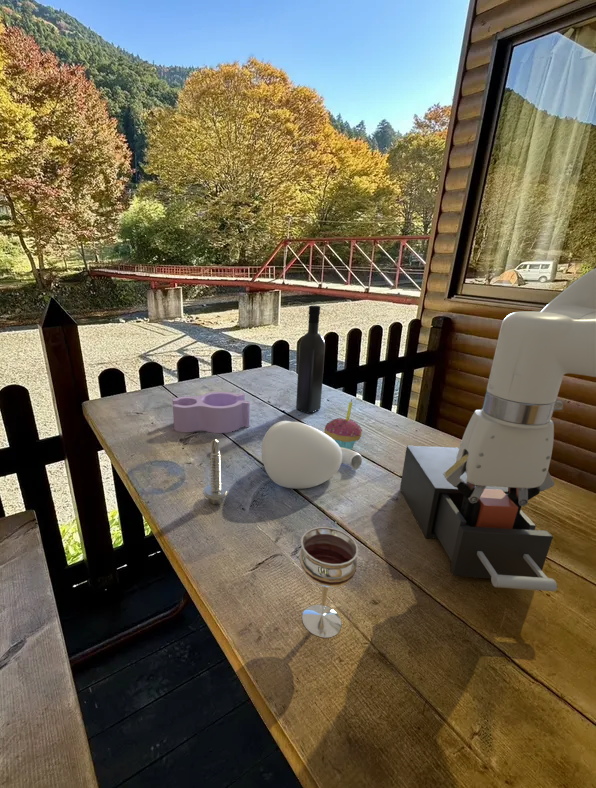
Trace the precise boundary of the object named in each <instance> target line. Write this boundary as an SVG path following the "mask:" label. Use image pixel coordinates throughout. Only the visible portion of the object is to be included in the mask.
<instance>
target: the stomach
mask: <svg viewBox="0 0 596 788" xmlns="http://www.w3.org/2000/svg"><path fill="white" fill-rule="evenodd" d="M260 449H261V450H260V452H261V453H260V454H261V459H262V463H263V467H264V469H265V472H266V474H267V475H268V477H269V478H270V480H272V482H274V483H275V484H276V485H278V486H280V487H282V488H287V489H295V490H296V489H298V490H301V489H309V488H313V487H317V486H319V485H321V484H324V483H326V482H327V481H329V480H330V479H332V478H333V477H334V476H335V475H336V473H338V471H339V469H341V465H342V464H343V465H346V466H349V467H351V469H352V471H353V470H354V471H357V470H359V469H360V468H361V466H362V465H363V458H362V455H361V454H360V453H359V452H357V451H354V450H353V449H351V450H350V449H346V448H342V447H339V445H338V444H337V443H336V442H335V441H334V440H333V439H332V438H331V437H329V436H328V435H326V434H325V433H324V432H323V431H322V430H320V429H318V428H316V427H314V426H311V425H309V424H306V423H304V422H299V421H290V420H280V421H278V422H276V423H274V424H273V425H271V426H270V427H269V429H267V431H266V433H265V434H264V437H263V440H262V443H261V448H260Z"/></svg>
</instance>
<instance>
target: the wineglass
mask: <svg viewBox="0 0 596 788" xmlns="http://www.w3.org/2000/svg"><path fill="white" fill-rule="evenodd" d="M300 544H301V545H300V547H301V548H300V550H299V555H298V557H299V562H300V566H301V569H302V571H303V572H302V573H304V575H305V577H307V578H308V579H309V580H310V581H312V583H315V584H316V585H317V586H320V587H321V601H320V604H312V605H309V606H308V607H306V608H305V609H304V610H303V612H302V616H301V619H302V620H301V621H302V624H303V626H304V627H305V629H306V630H308V632H309V633H311V634H312V635H314V636H316V637H320V638H332V637H335V636H336V635H338V634H339V633H340V632H341V629H342V623H343V622H342V620H341V617H340V616H339V614H338V613H337V612H336V611H335V610H334V609H333V608H331V607H329V606H328V605H326V603H327V597H328V590H329V589H333V588H340V587H343V586H345V585H347V584H348V583H349V582H351V581H352V579H353V577H354V576H355V574H356V572H357V567H358V559H357V556H358V555H359V546H358V545H357V542H356V540H354V538H353V537H352V536H351V535H349V534H347V533H346V532H345V531H343V530H340V529H338V528H335V527H330V526H329V527H328V526H317V527H314V528H310V529H309V530H307V531H305V532H304V533H303V535H302V536H301V539H300Z"/></svg>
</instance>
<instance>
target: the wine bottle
mask: <svg viewBox="0 0 596 788" xmlns="http://www.w3.org/2000/svg"><path fill="white" fill-rule="evenodd" d="M320 315H321V305H309V306H308V326H307V327H308V328H307V332H306V333H305V334H304V335H303V336H302V337H301V339H300V342H299V345H298V363H297V380H296V381H297V384H296V398H295V399H296V401H295V409H296V410H297V409H299V410H298V411H300V410H302V411H301V412H303V411H305V412H304V413H306V412H313V411H315V410H318V409H320V410H321V406H322V405H321V403H322V393H323V392H322V391H323V382H324V381H323V379H324V367H325V353H326V343H325V339H324V337H323V336H322V334H320V333H319V324H320ZM318 411H319V410H318ZM315 412H316V411H315ZM313 413H314V412H313Z"/></svg>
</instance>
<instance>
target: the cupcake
mask: <svg viewBox="0 0 596 788" xmlns="http://www.w3.org/2000/svg"><path fill="white" fill-rule="evenodd" d="M352 406H353V398H351V399H350V401H349V402H348V407H347V413H346V417H345V418H343V417H338V418H334V419H332V420H330V421H328V422H327V423H326V425H325V427H324V432H323V433H325V434H326V435H328V436H329V437H331V438H332V439H333V440H334V441H335V442H336V443H337V444H338V445H339V447H342V448H346V449H350V450H353V446H354V445H355V443H356V442H357V441H360V439H361V437H362V433H363V429H362V427H361V425H360V424H359V423H358V422H356V421H354V420H352V419H350V416H351V412H352Z"/></svg>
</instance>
